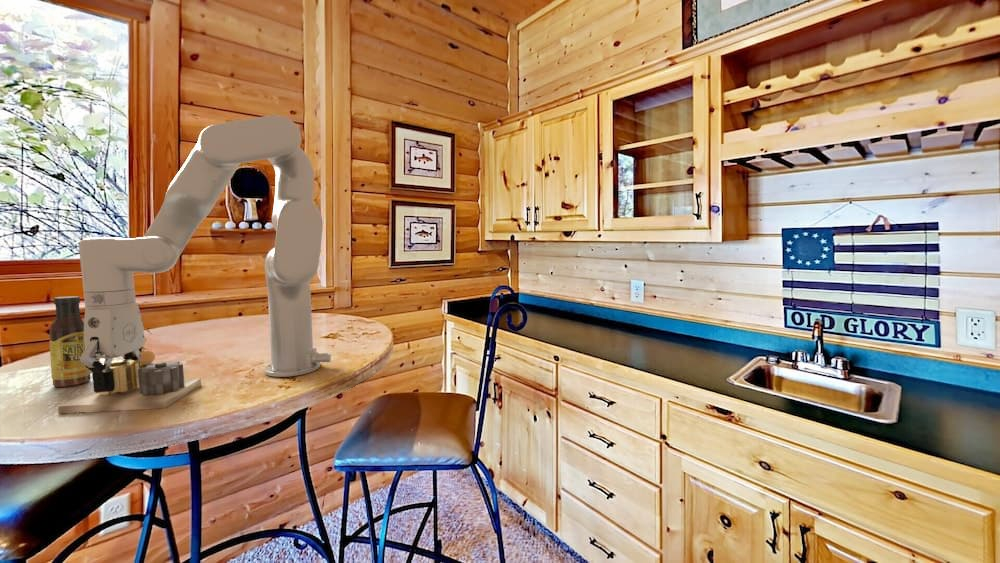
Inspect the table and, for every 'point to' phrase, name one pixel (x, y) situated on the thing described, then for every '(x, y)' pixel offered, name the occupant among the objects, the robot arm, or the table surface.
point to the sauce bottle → (67, 344)
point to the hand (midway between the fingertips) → (118, 383)
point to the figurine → (146, 354)
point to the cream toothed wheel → (124, 375)
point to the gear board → (139, 391)
